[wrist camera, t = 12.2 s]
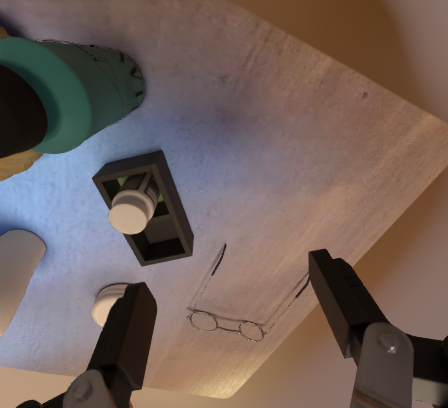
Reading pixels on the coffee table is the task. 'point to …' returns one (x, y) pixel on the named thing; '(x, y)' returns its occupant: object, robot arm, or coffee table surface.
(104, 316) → the white jar lid
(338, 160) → the coffee table surface
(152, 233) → the holder
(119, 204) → the pill bottle
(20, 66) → the beverage bottle
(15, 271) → the cup
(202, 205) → the coffee table surface
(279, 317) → the eyeglasses
